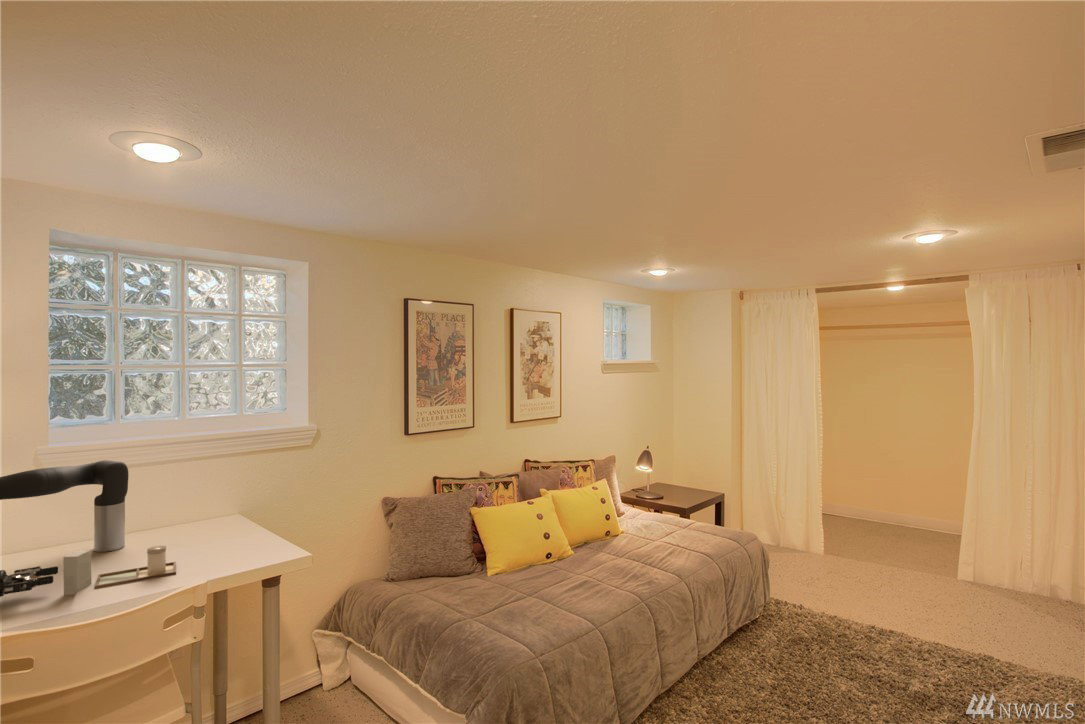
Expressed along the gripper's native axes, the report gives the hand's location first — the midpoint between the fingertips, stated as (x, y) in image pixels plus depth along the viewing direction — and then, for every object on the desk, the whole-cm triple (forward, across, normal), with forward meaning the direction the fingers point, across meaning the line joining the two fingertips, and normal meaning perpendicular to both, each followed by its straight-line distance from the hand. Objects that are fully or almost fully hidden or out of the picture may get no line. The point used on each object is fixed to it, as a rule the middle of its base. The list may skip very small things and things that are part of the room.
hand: (55, 574), depth 170 cm
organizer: (+20, +2, +6) cm, 21 cm away
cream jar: (+25, +2, +5) cm, 26 cm away
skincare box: (+5, 0, +7) cm, 8 cm away
